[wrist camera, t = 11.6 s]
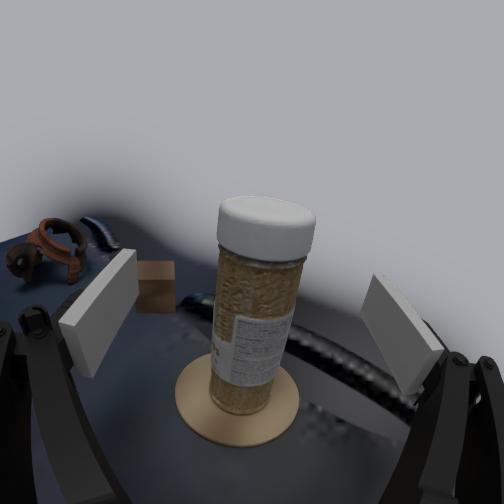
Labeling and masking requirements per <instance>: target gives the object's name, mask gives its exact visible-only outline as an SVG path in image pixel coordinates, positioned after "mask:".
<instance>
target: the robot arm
mask: <svg viewBox="0 0 504 504" xmlns="http://www.w3.org/2000/svg"><path fill="white" fill-rule="evenodd" d="M138 296H139V285H138V272H137V256H136V250H131V249H123V250H122V251H121V252H120V253H119V254H118V255H117V256H116V257H115V258H114V259H113V260H112V261H111V262H110V263H109V264H108V265H107V266H106V267H105V268H104V270H103V271H102V272H101V273H100V274H99V275H98V276H97V277H96V278H95V279H94V280H93V282H92V283H91V284H90V285H89V286H88V287H87V288H86V289H85V290H82V289H79V290H77V291H76V292H74V293H72V294H71V295H70V296H69V297H68V298H67V299H66V301H65V302H64V303H63V304H62V305H61V307H59V308H58V310H57V311H56V312H55V313H54V314H53V315H52V317H51V318H50V317H49V314H48V311H47V309H46V308H45V307H44V306H41V305H32V306H29V307H27V308H25V309H24V310H22V311H21V313H20V314H19V317H18V320H19V323H20V325H21V328H22V331H23V333H17V332H13V329H12V327H11V325H10V324H9V323H8V322H0V504H38V503H37V497H36V491H35V484H34V477H33V467H32V454H31V399H32V397H33V402H34V407H35V412H36V416H37V420H38V424H39V428H40V432H41V435H42V439H43V442H44V445H45V448H46V452H47V455H48V457H49V460H50V463H51V466H52V469H53V471H54V474H55V476H56V479H57V481H58V484H59V486H60V488H61V491H62V493H63V495H64V497H65V499H66V502H67V504H133V503H132V502H131V500H130V499H129V497H128V496H127V494H126V493H125V491H124V489H123V488H122V486H121V485H120V483H119V481H118V479H117V478H116V476H115V474H114V473H113V471H112V469H111V467H110V465H109V463H108V462H107V460H106V458H105V456H104V454H103V452H102V450H101V448H100V446H99V444H98V442H97V439H96V437H95V435H94V433H93V431H92V428H91V426H90V424H89V421H88V419H87V416H86V414H85V411H84V409H83V406H82V404H81V401H80V398H79V396H78V393H77V390H76V387H75V384H74V381H73V378H72V375H71V373H70V370H71V368H72V366H73V365H74V367H75V369H76V371H77V374H79V375H82V376H86V377H89V378H92V379H93V377H94V375H95V373H96V371H97V369H98V367H99V366H100V364H101V362H102V360H103V358H104V356H105V354H106V352H107V350H108V348H109V347H110V345H111V343H112V341H113V339H114V337H115V336H116V334H117V332H118V330H119V328H120V327H121V325H122V323H123V321H124V320H125V318H126V316H127V314H128V313H129V311H130V309H131V307H132V306H133V304H134V302H135V301H136V299H137V297H138ZM360 315H361V317H362V319H363V321H364V322H365V324H366V326H367V328H368V330H369V331H370V333H371V335H372V337H373V339H374V340H375V342H376V344H377V346H378V347H379V350H380V351H381V353H382V355H383V357H384V359H385V361H386V363H387V365H388V366H389V368H390V370H391V372H392V374H393V376H394V378H395V380H396V382H397V384H398V386H399V388H400V390H401V392H402V394H403V396H404V395H409V394H414V393H416V392H417V391H418V389H419V388H420V386H421V385H423V387H424V388H425V390H424V391H423V393H422V394H421V395H420V397H419V398H418V399H417V401H416V402H415V403H414V406H416V404H417V403H419V404H418V408H417V411H416V414H415V418H414V421H413V424H412V427H411V430H410V433H409V435H408V438H407V441H406V443H405V446H404V449H403V451H402V454H401V456H400V459H399V461H398V463H397V466H396V468H395V470H394V472H393V475H392V477H391V479H390V481H389V483H388V485H387V487H386V489H385V491H384V493H383V495H382V497H381V499H380V501H379V503H378V504H504V383H503V380H502V378H501V375H500V372H499V369H498V366H497V364H496V363H495V362H494V360H493V359H491V358H490V357H487V356H482V357H480V359H479V360H478V362H477V363H476V364H473V363H469V361H468V360H467V358H466V357H465V356H464V355H462V354H460V353H458V352H450V351H449V350H448V348H447V347H446V346H445V344H444V343H443V342H442V340H441V339H440V338H439V337H438V336H437V334H436V333H435V331H433V329H432V328H431V326H430V325H429V324H428V323H427V322H425V321H424V320H423V319H422V318H420V317H419V315H418V314H417V313H416V312H415V311H414V309H413V308H412V307H411V306H410V304H409V303H408V302H407V301H406V300H405V298H404V297H403V296H402V295H401V294H400V293H399V291H398V290H397V289H396V288H395V287H394V286H393V284H392V283H391V282H390V281H389V280H388V279H387V278H386V277H385V276H384V275H378V274H373V277H372V280H371V283H370V286H369V289H368V292H367V295H366V298H365V300H364V303H363V306H362V309H361V311H360ZM480 394H481V400H480V401H479V403H477V404H476V399H477V398H478V397H479V395H480ZM455 480H456V484H455V498H454V497H452V491H453V487H454V483H455Z"/></svg>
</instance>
